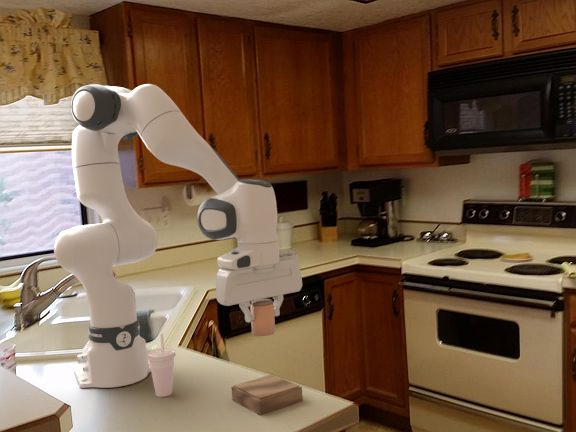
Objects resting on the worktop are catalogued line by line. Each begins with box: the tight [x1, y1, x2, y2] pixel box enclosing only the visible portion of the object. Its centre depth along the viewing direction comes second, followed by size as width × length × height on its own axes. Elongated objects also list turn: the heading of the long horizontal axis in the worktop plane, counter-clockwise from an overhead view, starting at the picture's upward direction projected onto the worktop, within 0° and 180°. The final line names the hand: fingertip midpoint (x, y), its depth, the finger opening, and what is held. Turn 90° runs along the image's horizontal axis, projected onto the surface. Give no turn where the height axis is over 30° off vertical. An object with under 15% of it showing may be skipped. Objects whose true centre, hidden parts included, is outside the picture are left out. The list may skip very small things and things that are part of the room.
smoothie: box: [147, 333, 177, 398], centre depth 139 cm, size 6×6×14 cm
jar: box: [249, 298, 276, 337], centre depth 131 cm, size 5×5×7 cm
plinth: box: [231, 374, 303, 416], centre depth 132 cm, size 11×11×3 cm
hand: (262, 318), depth 131 cm, fingers closed on jar, 5 cm apart
